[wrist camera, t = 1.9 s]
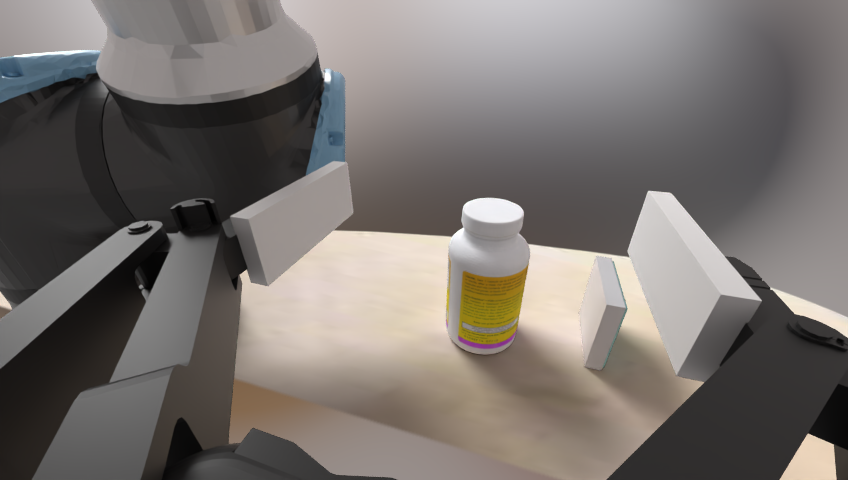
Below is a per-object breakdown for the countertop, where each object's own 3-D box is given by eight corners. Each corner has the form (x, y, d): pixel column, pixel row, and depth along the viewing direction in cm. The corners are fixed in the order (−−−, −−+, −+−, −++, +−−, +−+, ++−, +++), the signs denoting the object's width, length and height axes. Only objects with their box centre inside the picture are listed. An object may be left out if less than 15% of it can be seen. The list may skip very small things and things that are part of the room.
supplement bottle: (530, 342, 31) (558, 218, 25) (469, 368, 29) (482, 238, 22) (488, 299, 36) (501, 187, 30) (433, 318, 34) (435, 201, 27)
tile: (584, 366, 29) (606, 304, 25) (578, 312, 35) (595, 255, 31) (603, 371, 28) (628, 308, 25) (594, 315, 34) (613, 258, 31)
